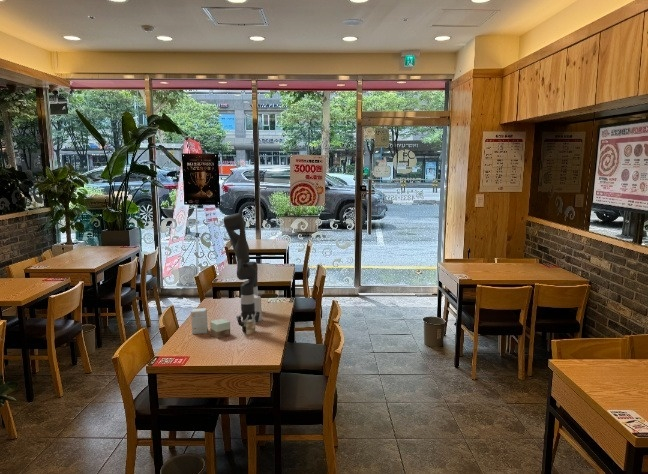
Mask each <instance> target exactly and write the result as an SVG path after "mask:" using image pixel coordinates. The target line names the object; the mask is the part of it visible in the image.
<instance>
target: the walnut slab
mask: <svg viewBox="0 0 648 474" xmlns="http://www.w3.org/2000/svg"><path fill="white" fill-rule="evenodd" d="M209 331H210V336H211V335H212V337H213V338H216V339H221V338H225V337H229V336H231V328H230V329H227V330H223V331H219V332H216V331H214V330H212V329H211V327H210V330H209Z"/></svg>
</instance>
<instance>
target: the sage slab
mask: <svg viewBox="0 0 648 474" xmlns="http://www.w3.org/2000/svg"><path fill="white" fill-rule="evenodd" d="M209 323H210V328H211V329H212V330H214V331H216V332H219V331H223V330H227V329H230V330H231V321H229V320H227V319H225V318H219V319H215V320H210V321H209Z"/></svg>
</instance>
